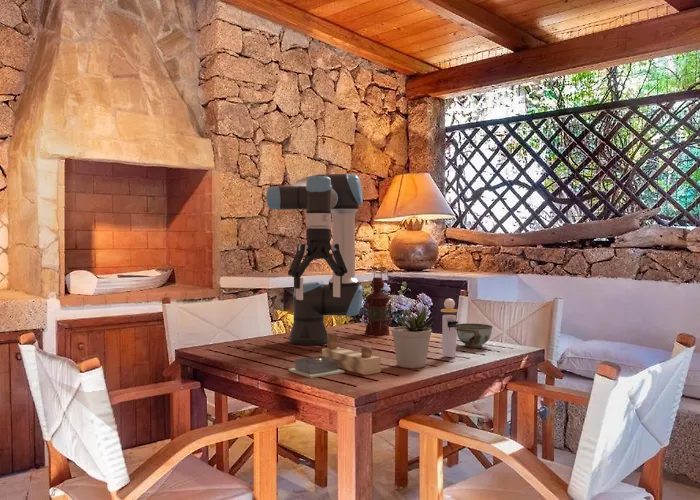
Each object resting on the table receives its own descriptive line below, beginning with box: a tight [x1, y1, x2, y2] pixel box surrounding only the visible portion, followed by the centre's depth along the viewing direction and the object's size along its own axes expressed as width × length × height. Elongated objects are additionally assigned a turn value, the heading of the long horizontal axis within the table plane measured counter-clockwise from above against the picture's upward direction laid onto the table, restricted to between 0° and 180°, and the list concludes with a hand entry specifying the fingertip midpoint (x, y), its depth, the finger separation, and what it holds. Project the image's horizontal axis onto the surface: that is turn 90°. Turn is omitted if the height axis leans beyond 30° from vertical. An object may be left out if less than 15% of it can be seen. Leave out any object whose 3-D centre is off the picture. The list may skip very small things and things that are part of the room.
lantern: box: [362, 262, 393, 337], centre depth 257 cm, size 12×12×30 cm
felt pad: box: [288, 367, 345, 379], centre depth 182 cm, size 12×12×1 cm
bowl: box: [456, 323, 493, 349], centre depth 227 cm, size 14×13×8 cm
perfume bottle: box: [440, 297, 459, 357], centre depth 205 cm, size 6×6×20 cm
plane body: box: [321, 332, 382, 376], centre depth 188 cm, size 22×6×10 cm, turn 38°
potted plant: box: [391, 303, 434, 369], centre depth 191 cm, size 13×14×20 cm
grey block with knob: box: [294, 355, 339, 374], centre depth 182 cm, size 8×10×3 cm
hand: (318, 298), depth 183 cm, fingers open, 13 cm apart
